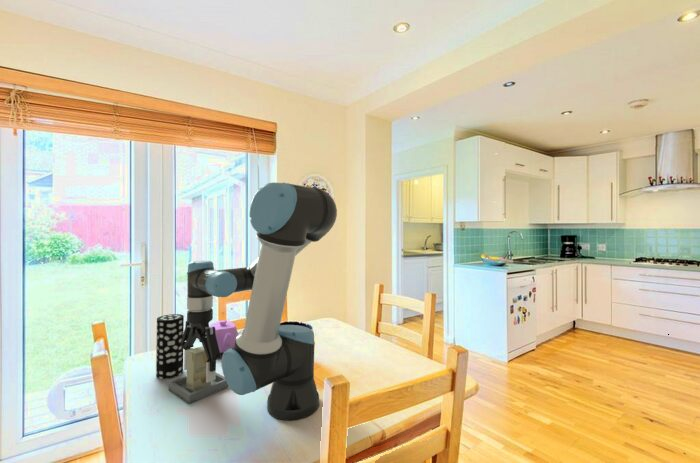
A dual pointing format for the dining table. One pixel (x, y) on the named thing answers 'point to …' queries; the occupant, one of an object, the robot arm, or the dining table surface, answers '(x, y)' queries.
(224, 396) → the dining table surface
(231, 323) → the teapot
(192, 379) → the skincare box
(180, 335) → the white-spotted black cylinder
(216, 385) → the tray
